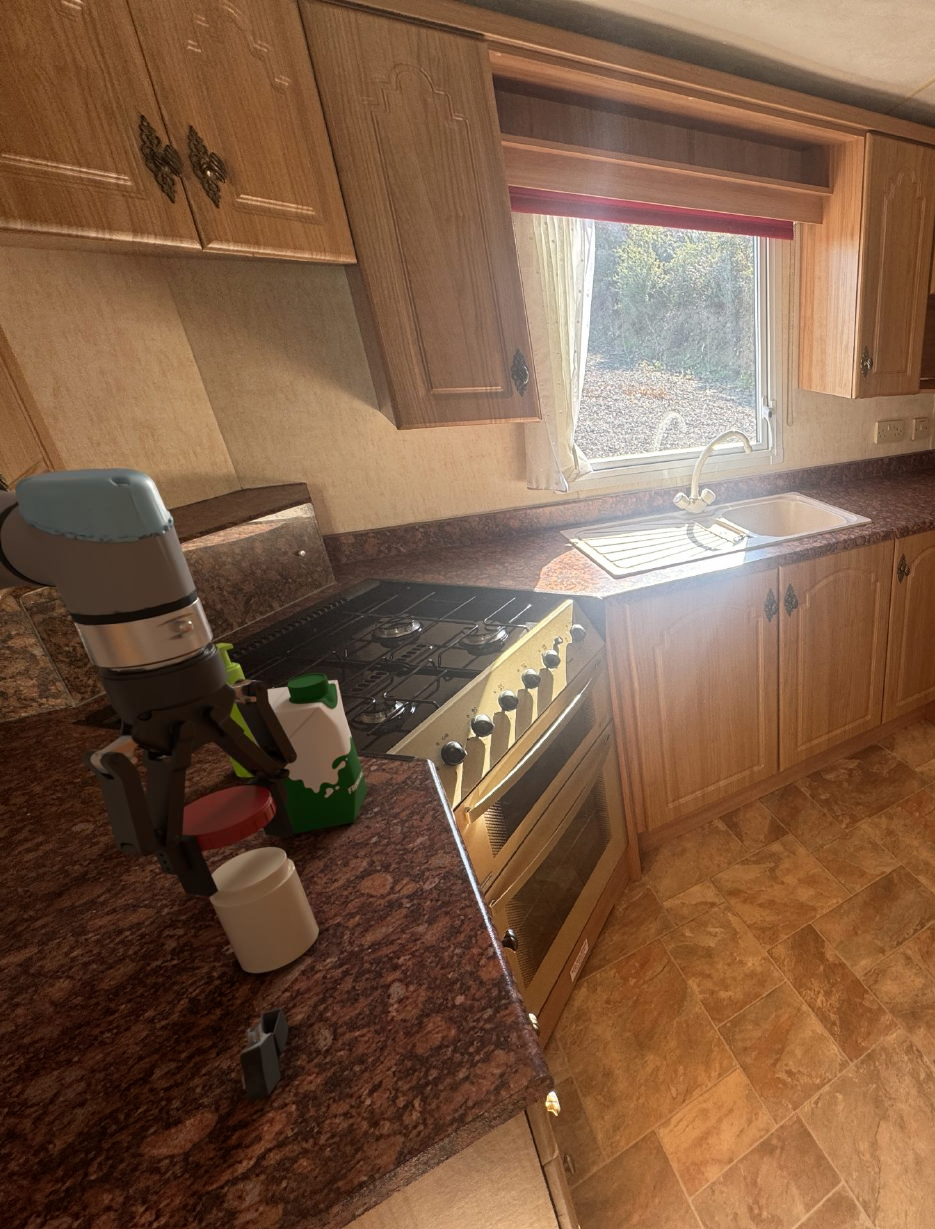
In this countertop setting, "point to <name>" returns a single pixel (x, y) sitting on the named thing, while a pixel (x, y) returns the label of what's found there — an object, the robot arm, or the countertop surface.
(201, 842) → the jam lid
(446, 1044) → the countertop surface
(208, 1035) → the countertop surface
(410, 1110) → the countertop surface
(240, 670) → the soap dispenser
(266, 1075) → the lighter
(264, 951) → the jam jar
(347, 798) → the milk carton
